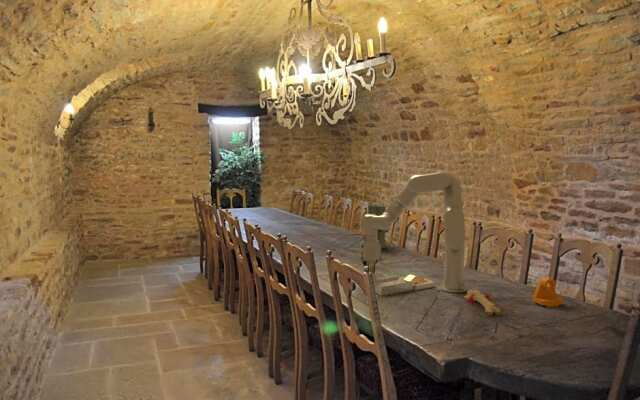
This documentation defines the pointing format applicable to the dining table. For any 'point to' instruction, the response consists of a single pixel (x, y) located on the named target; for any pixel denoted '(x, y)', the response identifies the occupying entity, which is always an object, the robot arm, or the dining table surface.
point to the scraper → (372, 268)
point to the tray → (424, 285)
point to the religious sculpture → (378, 211)
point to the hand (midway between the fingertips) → (369, 272)
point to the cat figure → (483, 301)
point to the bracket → (546, 293)
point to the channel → (392, 285)
